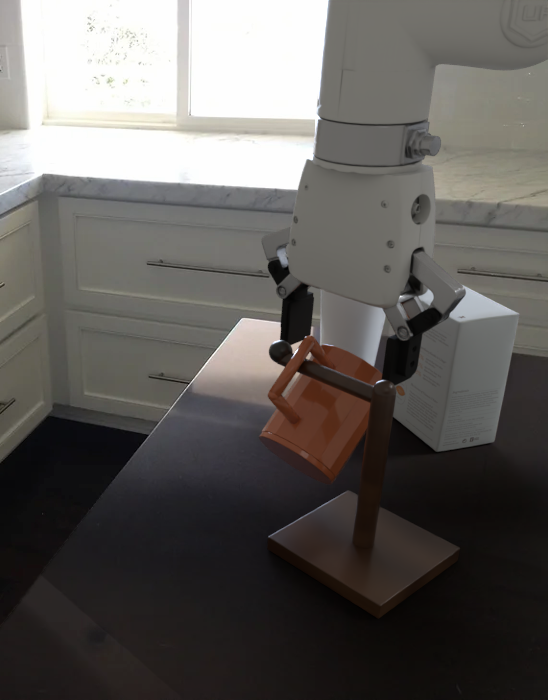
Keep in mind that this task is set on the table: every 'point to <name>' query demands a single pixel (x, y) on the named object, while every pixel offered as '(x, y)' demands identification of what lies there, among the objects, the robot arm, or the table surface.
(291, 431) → the mug
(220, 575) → the table surface
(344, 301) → the drinking glass
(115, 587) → the table surface
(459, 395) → the small box
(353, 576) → the mug stand
